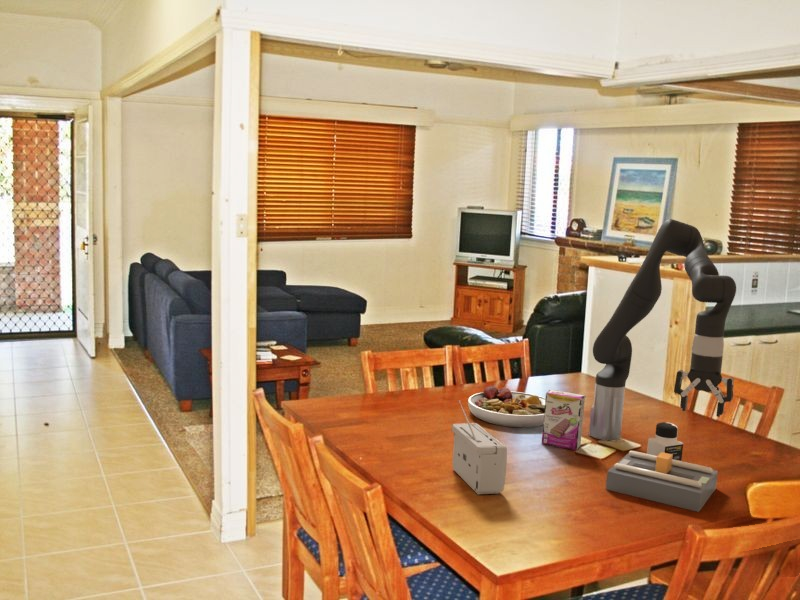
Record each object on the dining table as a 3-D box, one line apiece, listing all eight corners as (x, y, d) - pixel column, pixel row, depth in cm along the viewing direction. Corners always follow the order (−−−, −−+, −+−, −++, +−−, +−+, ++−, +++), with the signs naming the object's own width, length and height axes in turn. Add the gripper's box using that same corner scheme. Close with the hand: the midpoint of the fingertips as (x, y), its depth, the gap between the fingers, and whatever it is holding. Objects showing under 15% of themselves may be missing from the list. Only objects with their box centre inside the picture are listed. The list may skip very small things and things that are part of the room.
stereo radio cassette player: (505, 495, 219) (511, 420, 216) (475, 497, 217) (480, 421, 214) (475, 467, 239) (480, 397, 236) (447, 468, 237) (452, 398, 233)
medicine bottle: (663, 469, 245) (667, 429, 243) (645, 461, 251) (649, 421, 249) (681, 466, 248) (685, 426, 246) (663, 458, 254) (667, 419, 252)
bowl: (575, 423, 287) (577, 400, 285) (507, 435, 270) (509, 411, 268) (515, 400, 311) (516, 379, 310) (449, 410, 294) (451, 388, 293)
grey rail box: (605, 489, 227) (607, 465, 226) (628, 468, 244) (630, 446, 243) (698, 511, 215) (701, 486, 213) (715, 488, 231) (718, 465, 230)
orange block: (655, 471, 227) (656, 456, 226) (660, 466, 231) (661, 452, 231) (666, 473, 225) (668, 459, 225) (671, 468, 230) (672, 454, 229)
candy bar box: (540, 444, 261) (545, 392, 259) (545, 440, 266) (549, 388, 263) (577, 451, 257) (581, 398, 254) (581, 446, 261) (585, 394, 259)
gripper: (738, 353, 220) (732, 414, 222) (681, 346, 227) (676, 405, 229) (734, 358, 213) (727, 421, 216) (675, 350, 220) (669, 411, 223)
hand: (701, 413), depth 222 cm, fingers open, 8 cm apart
